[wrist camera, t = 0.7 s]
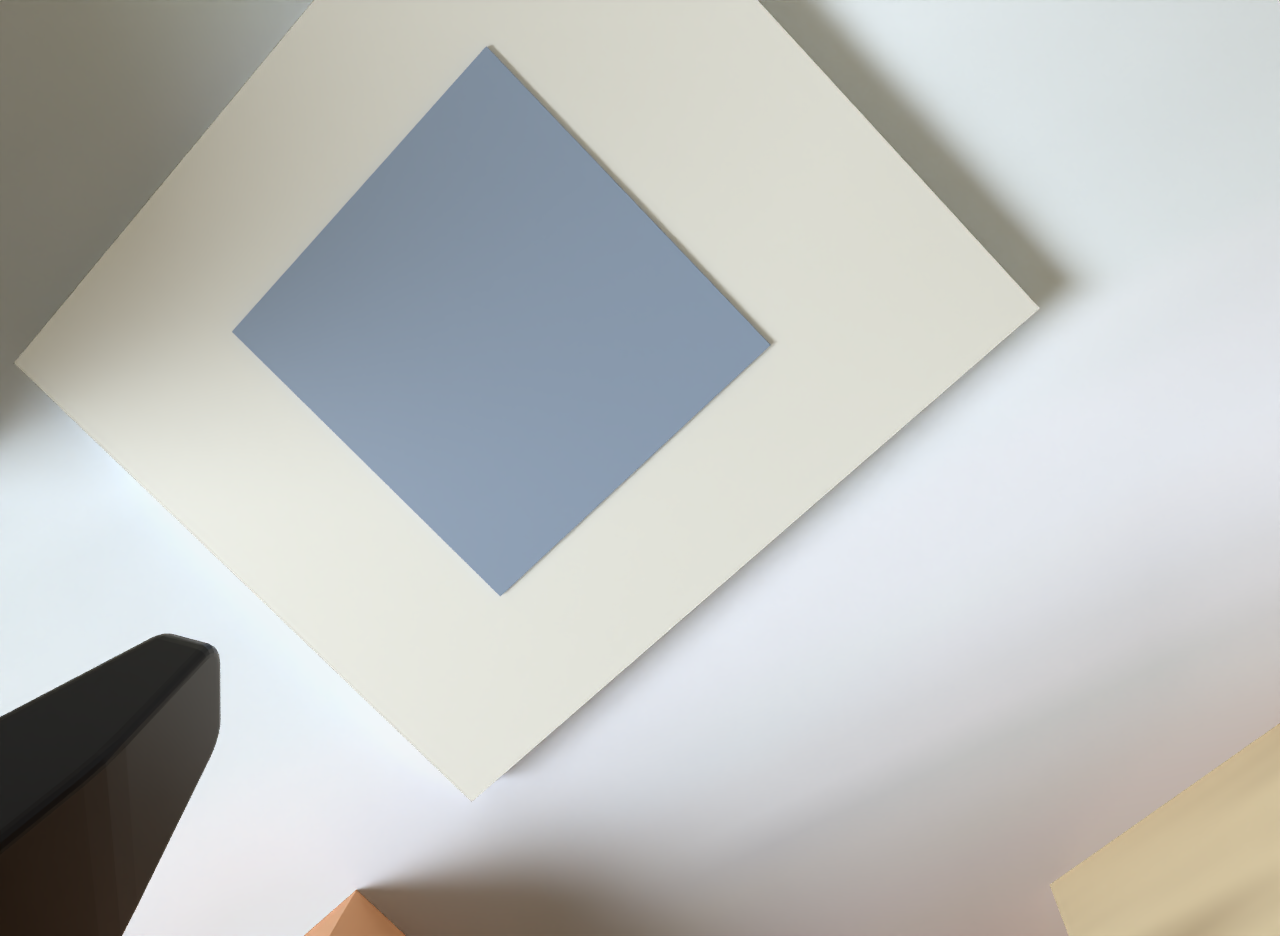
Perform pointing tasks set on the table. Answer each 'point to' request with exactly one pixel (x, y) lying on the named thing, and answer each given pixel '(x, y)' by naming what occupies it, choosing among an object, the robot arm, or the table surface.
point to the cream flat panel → (516, 337)
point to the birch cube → (1190, 860)
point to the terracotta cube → (355, 920)
